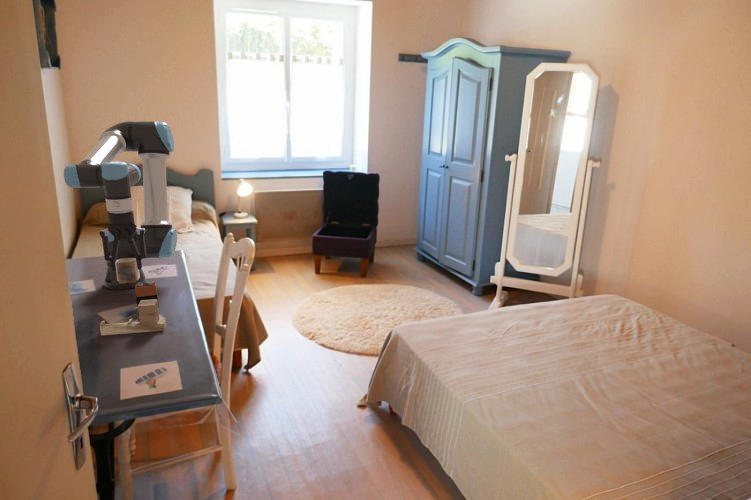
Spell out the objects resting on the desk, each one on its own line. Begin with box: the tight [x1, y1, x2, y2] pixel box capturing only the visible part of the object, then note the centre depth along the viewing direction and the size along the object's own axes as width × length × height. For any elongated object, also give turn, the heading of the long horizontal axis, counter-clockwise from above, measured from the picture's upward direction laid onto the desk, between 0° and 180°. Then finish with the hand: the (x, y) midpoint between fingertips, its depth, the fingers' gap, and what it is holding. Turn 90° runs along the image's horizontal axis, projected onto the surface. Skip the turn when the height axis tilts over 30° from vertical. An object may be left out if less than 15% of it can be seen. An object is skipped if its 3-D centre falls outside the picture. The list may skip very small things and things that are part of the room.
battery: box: [134, 280, 160, 308], centre depth 184 cm, size 4×7×10 cm, turn 111°
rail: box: [99, 299, 167, 336], centre depth 167 cm, size 5×19×10 cm, turn 104°
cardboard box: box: [116, 258, 137, 283], centre depth 171 cm, size 5×6×7 cm
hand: (128, 278), depth 173 cm, fingers closed on cardboard box, 5 cm apart
